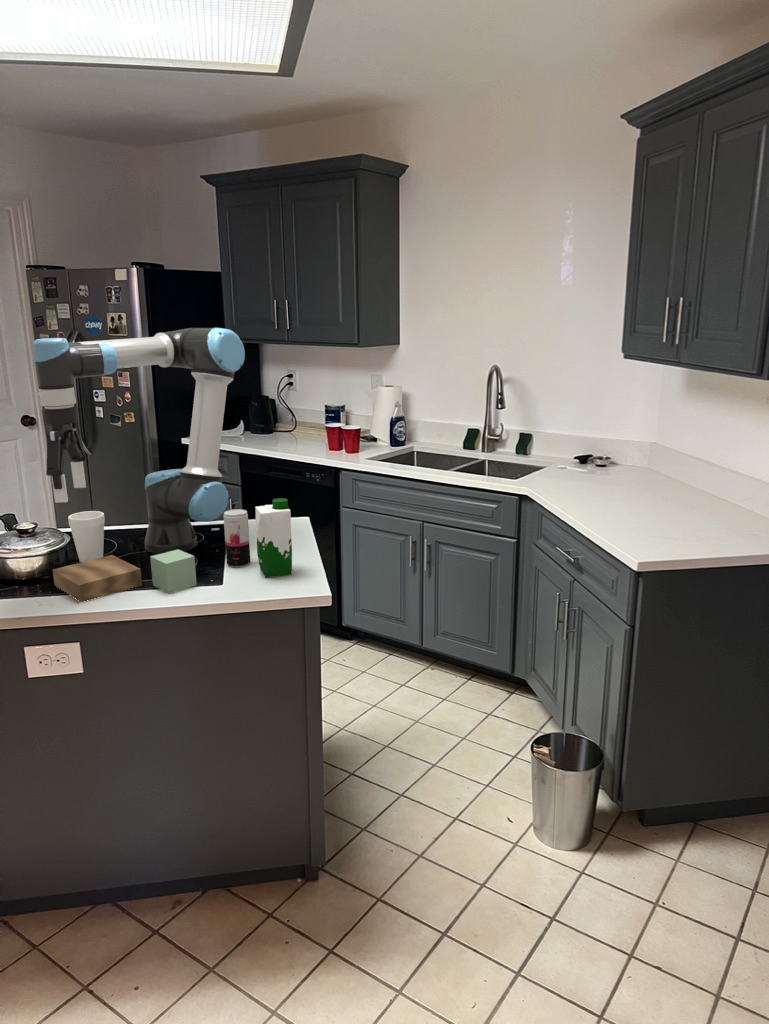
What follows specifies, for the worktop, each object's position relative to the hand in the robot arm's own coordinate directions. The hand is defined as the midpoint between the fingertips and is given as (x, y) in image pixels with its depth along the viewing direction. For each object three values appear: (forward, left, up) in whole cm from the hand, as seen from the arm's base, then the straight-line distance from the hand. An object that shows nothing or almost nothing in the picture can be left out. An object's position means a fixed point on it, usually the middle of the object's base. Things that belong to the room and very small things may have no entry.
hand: (71, 494), depth 181 cm
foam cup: (-14, -26, -26) cm, 39 cm away
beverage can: (-41, +8, -26) cm, 49 cm away
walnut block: (-6, -4, -26) cm, 27 cm away
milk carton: (-44, +21, -26) cm, 55 cm away
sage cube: (-20, +10, -26) cm, 34 cm away
